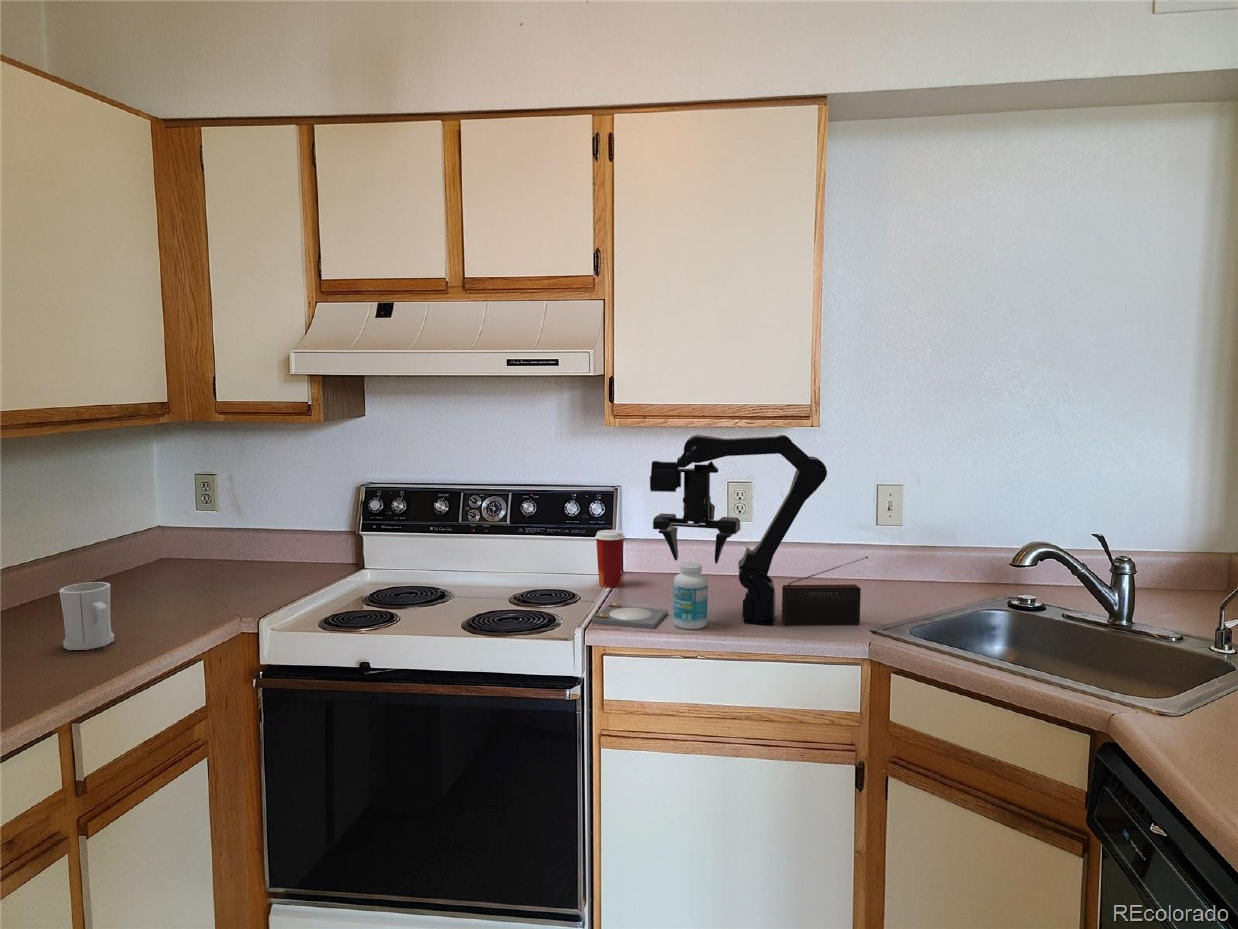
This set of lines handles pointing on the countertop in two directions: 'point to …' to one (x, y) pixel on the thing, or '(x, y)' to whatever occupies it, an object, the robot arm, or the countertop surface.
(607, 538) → the paper cup
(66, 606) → the cup
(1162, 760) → the countertop surface
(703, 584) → the pill bottle
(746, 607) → the robot arm
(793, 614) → the radio
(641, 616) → the plate
